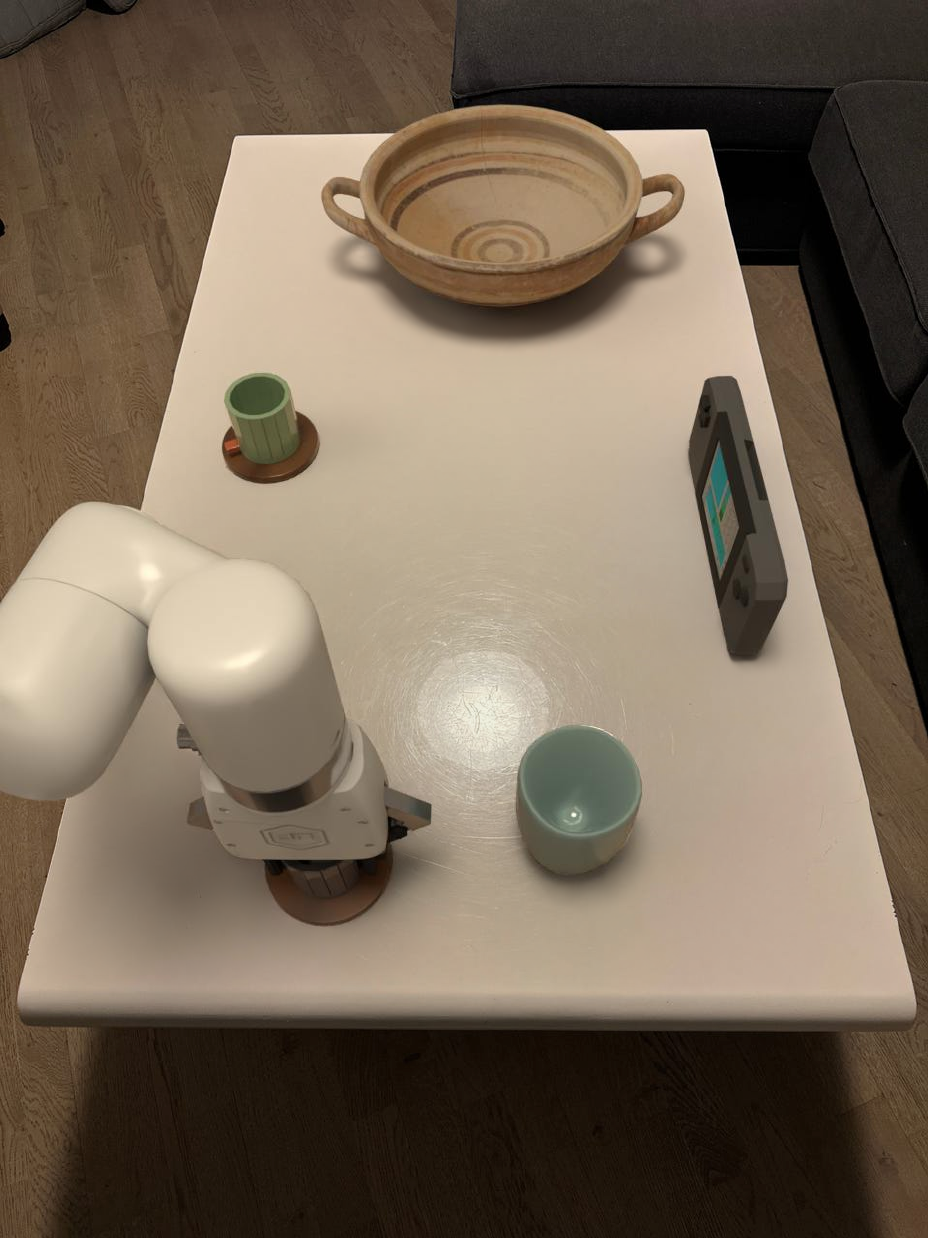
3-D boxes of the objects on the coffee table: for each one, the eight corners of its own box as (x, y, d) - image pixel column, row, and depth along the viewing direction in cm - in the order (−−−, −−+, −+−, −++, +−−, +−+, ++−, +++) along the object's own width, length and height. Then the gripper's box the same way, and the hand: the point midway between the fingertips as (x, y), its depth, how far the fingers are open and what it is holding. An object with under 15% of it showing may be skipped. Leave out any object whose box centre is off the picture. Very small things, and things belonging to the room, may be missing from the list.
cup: (497, 805, 69) (499, 746, 60) (594, 770, 70) (609, 707, 62) (539, 905, 65) (547, 856, 56) (641, 865, 66) (664, 812, 58)
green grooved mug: (309, 452, 87) (299, 405, 82) (237, 476, 86) (222, 431, 81) (289, 411, 90) (277, 364, 85) (219, 434, 89) (203, 388, 84)
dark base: (258, 926, 64) (256, 923, 64) (274, 802, 69) (272, 798, 69) (389, 926, 64) (388, 923, 63) (396, 802, 69) (395, 798, 68)
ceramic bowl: (657, 186, 111) (672, 100, 102) (685, 352, 95) (705, 266, 86) (343, 189, 111) (331, 104, 103) (319, 353, 96) (303, 269, 87)
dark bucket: (282, 899, 64) (265, 872, 60) (293, 803, 68) (278, 770, 63) (366, 899, 64) (357, 872, 60) (372, 803, 68) (364, 770, 63)
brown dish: (216, 483, 86) (214, 477, 86) (230, 413, 91) (229, 407, 91) (314, 483, 86) (313, 477, 86) (323, 412, 91) (322, 406, 90)
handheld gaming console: (681, 450, 88) (702, 367, 79) (711, 449, 88) (735, 366, 79) (724, 662, 75) (755, 590, 67) (759, 661, 75) (793, 589, 67)
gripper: (103, 806, 48) (194, 908, 64) (438, 807, 48) (449, 909, 63) (133, 679, 53) (211, 803, 68) (441, 679, 52) (451, 803, 67)
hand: (326, 853), depth 65 cm, fingers closed on dark bucket, 5 cm apart
